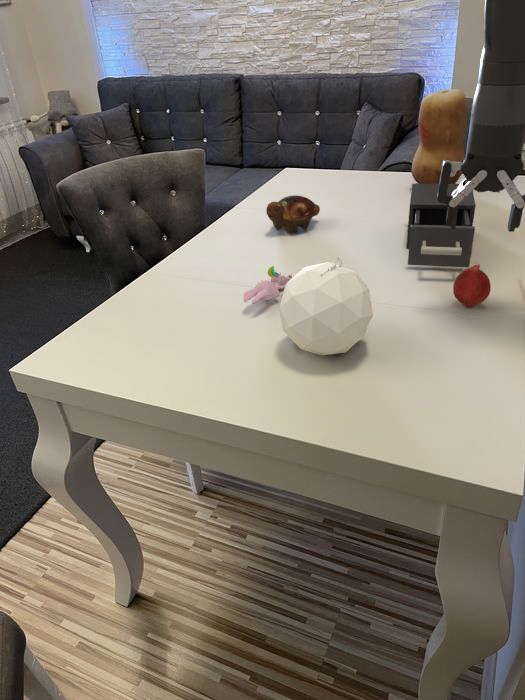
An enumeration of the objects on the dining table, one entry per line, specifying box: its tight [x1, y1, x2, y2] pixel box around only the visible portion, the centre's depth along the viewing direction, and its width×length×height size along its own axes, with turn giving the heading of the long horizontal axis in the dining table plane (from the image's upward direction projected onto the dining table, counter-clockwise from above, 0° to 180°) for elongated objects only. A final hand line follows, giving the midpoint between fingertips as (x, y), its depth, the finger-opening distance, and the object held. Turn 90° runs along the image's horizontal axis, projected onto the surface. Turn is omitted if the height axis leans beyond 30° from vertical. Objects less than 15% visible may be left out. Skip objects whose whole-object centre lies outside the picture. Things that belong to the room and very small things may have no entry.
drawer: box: [407, 208, 476, 268], centre depth 105 cm, size 18×11×8 cm, turn 165°
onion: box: [452, 263, 492, 309], centre depth 89 cm, size 6×6×8 cm
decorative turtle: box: [265, 194, 321, 235], centre depth 127 cm, size 10×15×8 cm, turn 132°
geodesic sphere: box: [278, 257, 374, 356], centre depth 81 cm, size 15×14×14 cm
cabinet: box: [405, 183, 476, 250], centre depth 116 cm, size 15×13×10 cm
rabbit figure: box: [243, 265, 293, 304], centre depth 98 cm, size 6×6×15 cm
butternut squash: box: [411, 88, 468, 184], centre depth 139 cm, size 14×13×25 cm
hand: (481, 229), depth 83 cm, fingers open, 8 cm apart
